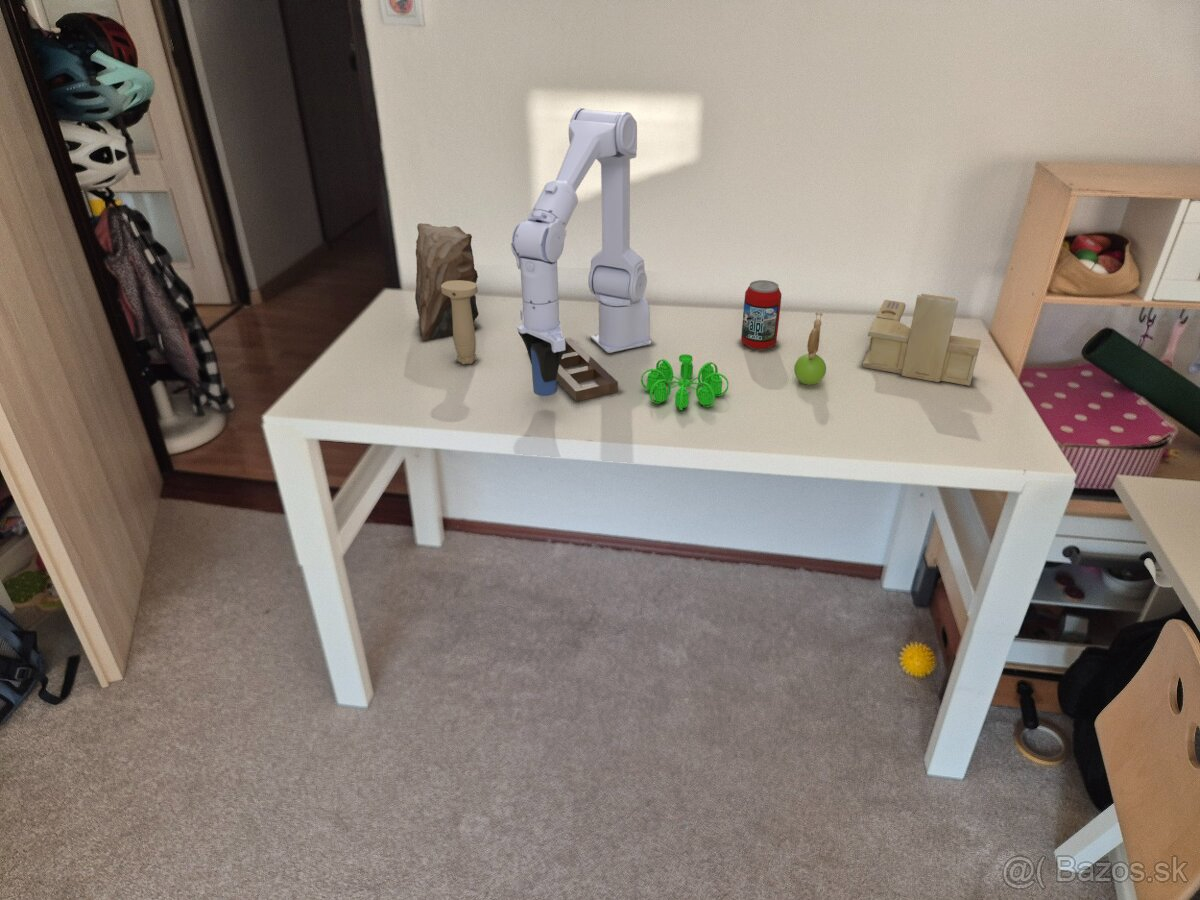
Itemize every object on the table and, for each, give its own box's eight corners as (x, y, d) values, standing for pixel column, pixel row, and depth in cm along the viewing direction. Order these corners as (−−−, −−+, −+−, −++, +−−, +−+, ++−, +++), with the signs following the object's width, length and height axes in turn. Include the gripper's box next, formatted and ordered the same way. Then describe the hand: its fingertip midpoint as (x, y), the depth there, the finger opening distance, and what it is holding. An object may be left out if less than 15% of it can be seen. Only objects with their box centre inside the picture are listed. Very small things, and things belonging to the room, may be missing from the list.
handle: (477, 369, 154) (470, 292, 146) (445, 365, 156) (436, 288, 148) (487, 358, 158) (481, 282, 150) (456, 354, 159) (448, 279, 151)
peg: (551, 383, 143) (549, 340, 139) (560, 393, 140) (559, 349, 136) (529, 388, 142) (527, 345, 137) (538, 398, 139) (536, 354, 134)
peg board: (570, 346, 162) (570, 337, 161) (618, 392, 146) (618, 381, 145) (531, 354, 159) (531, 344, 158) (576, 401, 143) (575, 391, 142)
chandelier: (645, 371, 152) (646, 336, 149) (728, 376, 150) (731, 341, 147) (635, 411, 140) (636, 374, 136) (725, 417, 138) (729, 380, 134)
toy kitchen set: (977, 350, 158) (996, 274, 150) (969, 388, 146) (990, 307, 138) (877, 334, 165) (890, 260, 157) (861, 368, 152) (874, 290, 144)
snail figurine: (826, 376, 150) (835, 313, 144) (822, 392, 145) (831, 328, 139) (795, 371, 152) (803, 309, 145) (790, 387, 147) (798, 324, 140)
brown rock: (417, 316, 175) (405, 222, 164) (478, 311, 177) (469, 217, 166) (420, 341, 164) (406, 242, 154) (484, 335, 167) (475, 236, 156)
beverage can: (736, 348, 160) (741, 289, 154) (745, 334, 166) (750, 277, 159) (771, 354, 158) (778, 294, 152) (779, 340, 163) (785, 281, 157)
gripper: (501, 286, 136) (506, 362, 143) (533, 318, 125) (538, 398, 132) (541, 279, 139) (544, 354, 146) (576, 310, 128) (578, 389, 135)
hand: (544, 374), depth 139 cm, fingers closed on peg, 4 cm apart
